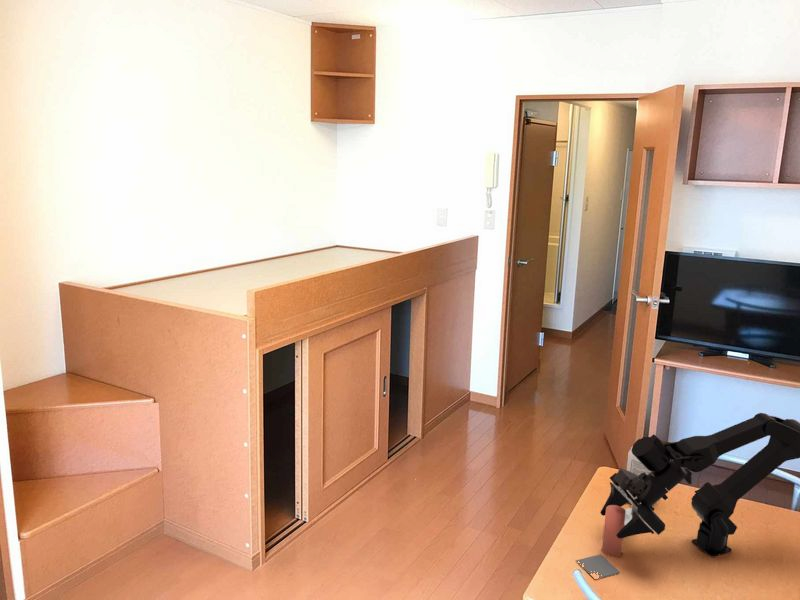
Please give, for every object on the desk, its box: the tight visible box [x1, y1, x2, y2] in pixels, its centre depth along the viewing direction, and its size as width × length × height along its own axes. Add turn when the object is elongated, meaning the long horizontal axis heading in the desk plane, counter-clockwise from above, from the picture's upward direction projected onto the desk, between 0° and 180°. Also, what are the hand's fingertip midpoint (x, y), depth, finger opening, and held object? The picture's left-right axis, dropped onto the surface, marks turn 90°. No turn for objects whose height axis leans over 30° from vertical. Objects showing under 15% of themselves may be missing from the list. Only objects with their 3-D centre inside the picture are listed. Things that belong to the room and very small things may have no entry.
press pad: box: [575, 553, 621, 579], centre depth 148 cm, size 7×7×1 cm
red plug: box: [601, 505, 626, 558], centre depth 153 cm, size 4×4×11 cm
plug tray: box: [624, 504, 639, 526], centre depth 166 cm, size 8×6×4 cm
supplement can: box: [626, 445, 654, 505], centre depth 175 cm, size 8×8×15 cm
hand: (609, 525), depth 152 cm, fingers open, 9 cm apart
